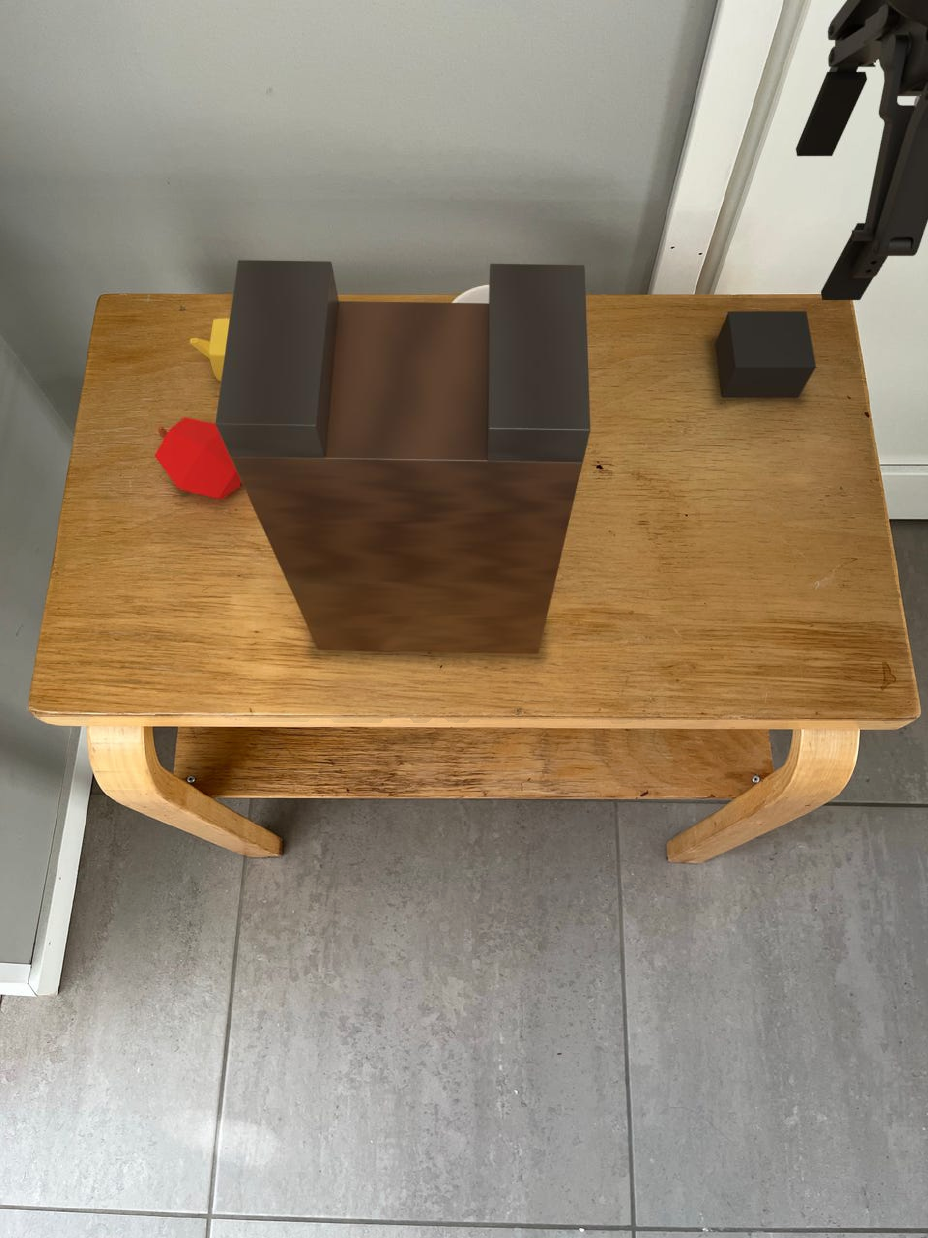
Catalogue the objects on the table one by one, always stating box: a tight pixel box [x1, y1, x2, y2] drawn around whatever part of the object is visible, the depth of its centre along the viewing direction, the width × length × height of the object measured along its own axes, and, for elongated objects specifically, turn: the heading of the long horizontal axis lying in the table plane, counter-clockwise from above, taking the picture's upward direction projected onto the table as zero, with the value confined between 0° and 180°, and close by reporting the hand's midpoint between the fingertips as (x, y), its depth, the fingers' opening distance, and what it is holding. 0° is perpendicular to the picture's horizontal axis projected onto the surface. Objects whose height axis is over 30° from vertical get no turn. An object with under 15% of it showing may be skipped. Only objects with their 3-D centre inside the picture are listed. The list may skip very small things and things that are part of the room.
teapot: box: [189, 317, 230, 382], centre depth 82 cm, size 8×6×5 cm
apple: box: [153, 416, 242, 501], centre depth 78 cm, size 7×7×8 cm
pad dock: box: [214, 259, 591, 655], centre depth 61 cm, size 18×10×33 cm, turn 89°
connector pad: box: [715, 310, 817, 398], centre depth 82 cm, size 7×6×4 cm
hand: (826, 222), depth 68 cm, fingers open, 13 cm apart
